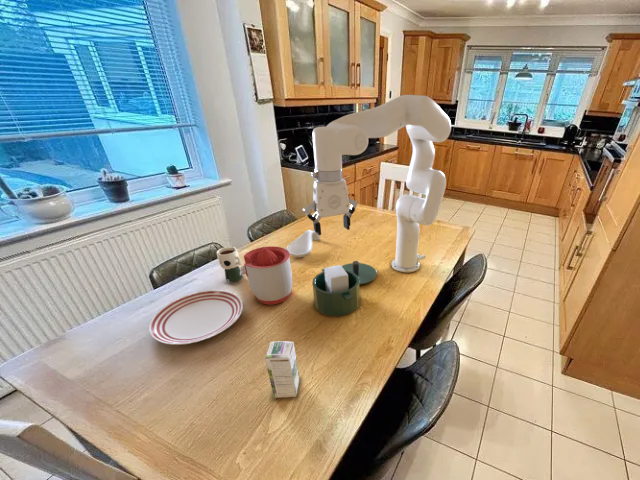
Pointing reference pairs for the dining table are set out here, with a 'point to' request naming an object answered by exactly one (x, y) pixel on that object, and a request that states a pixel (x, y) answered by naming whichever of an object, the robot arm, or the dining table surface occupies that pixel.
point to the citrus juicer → (268, 274)
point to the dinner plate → (196, 317)
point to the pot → (336, 296)
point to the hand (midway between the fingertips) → (332, 230)
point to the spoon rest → (302, 244)
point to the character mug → (230, 263)
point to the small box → (336, 279)
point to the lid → (361, 271)
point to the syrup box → (282, 369)
